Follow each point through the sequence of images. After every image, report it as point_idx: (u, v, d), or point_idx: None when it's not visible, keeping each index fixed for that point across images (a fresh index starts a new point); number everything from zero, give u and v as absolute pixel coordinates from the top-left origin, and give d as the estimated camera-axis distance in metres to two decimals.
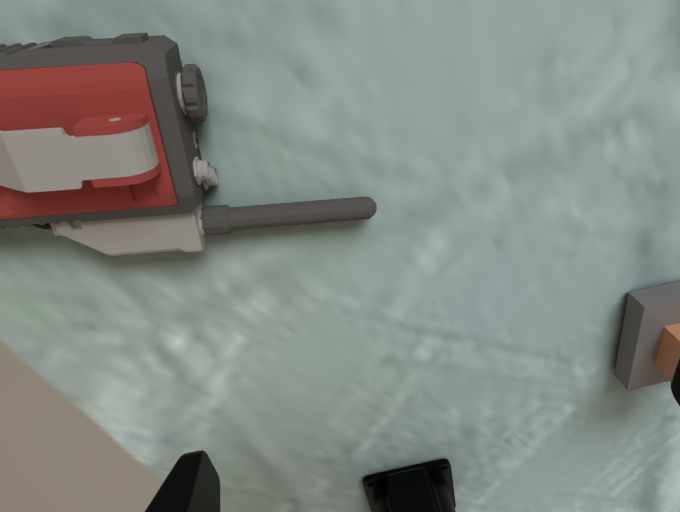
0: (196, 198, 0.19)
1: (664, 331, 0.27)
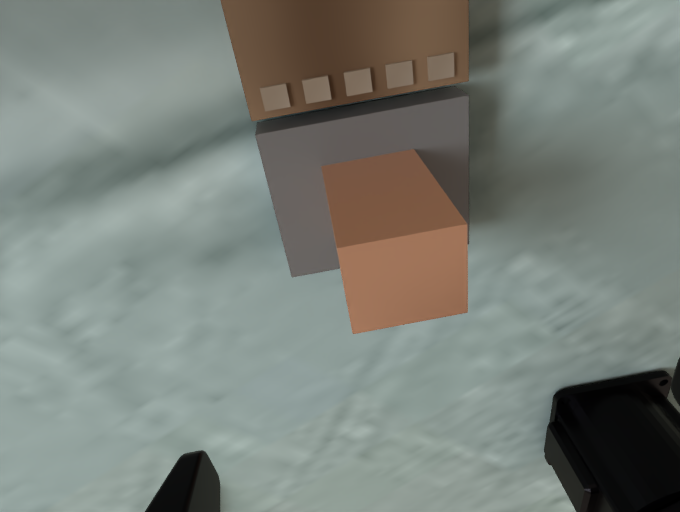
0: None
1: None
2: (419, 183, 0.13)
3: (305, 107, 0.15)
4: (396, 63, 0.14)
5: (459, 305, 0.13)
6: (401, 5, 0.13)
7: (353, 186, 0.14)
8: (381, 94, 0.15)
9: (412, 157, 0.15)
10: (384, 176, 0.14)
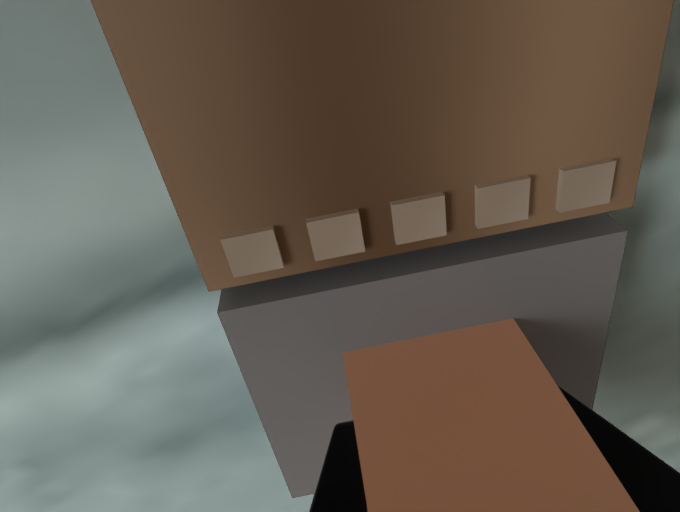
0: None
1: None
2: (562, 454, 0.06)
3: (313, 265, 0.07)
4: (496, 181, 0.07)
5: None
6: (519, 72, 0.06)
7: (415, 440, 0.07)
8: (462, 236, 0.07)
9: (517, 346, 0.08)
10: (476, 411, 0.07)
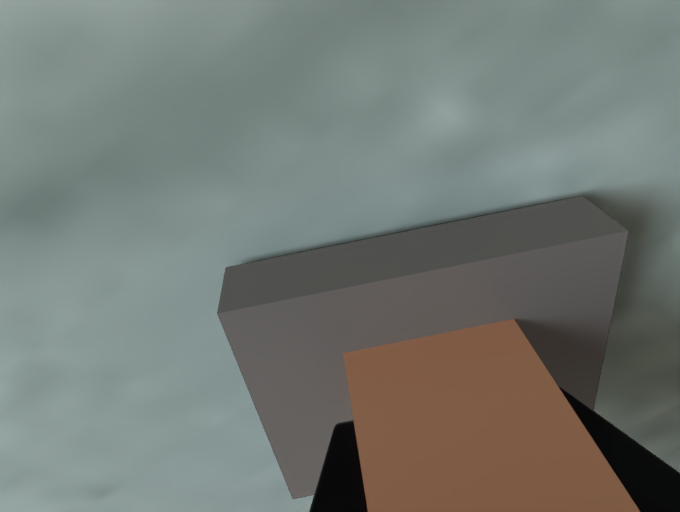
0: None
1: None
2: (563, 455, 0.06)
3: None
4: None
5: None
6: None
7: (416, 441, 0.07)
8: None
9: (517, 347, 0.08)
10: (476, 412, 0.07)
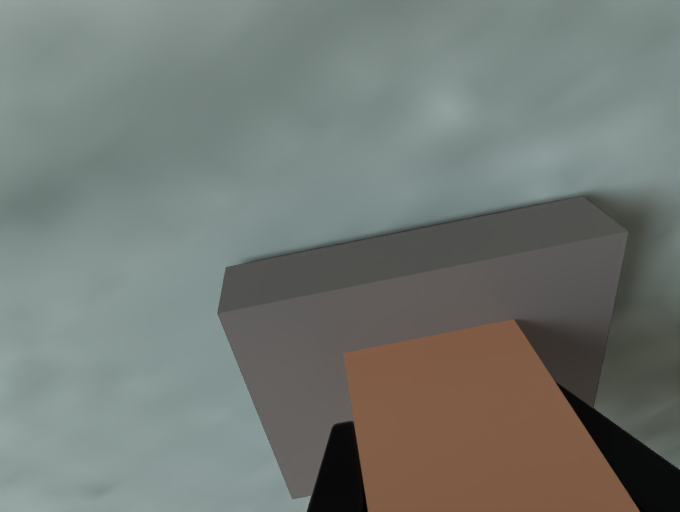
0: None
1: None
2: (564, 456, 0.06)
3: None
4: None
5: None
6: None
7: (416, 441, 0.07)
8: None
9: (518, 348, 0.08)
10: (477, 411, 0.07)
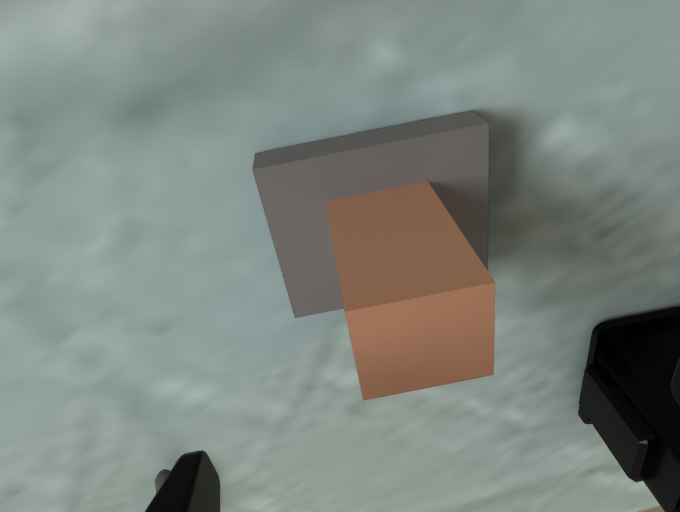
0: None
1: None
2: (436, 226, 0.12)
3: None
4: None
5: (485, 368, 0.11)
6: None
7: (362, 228, 0.12)
8: None
9: (426, 192, 0.14)
10: (397, 215, 0.13)
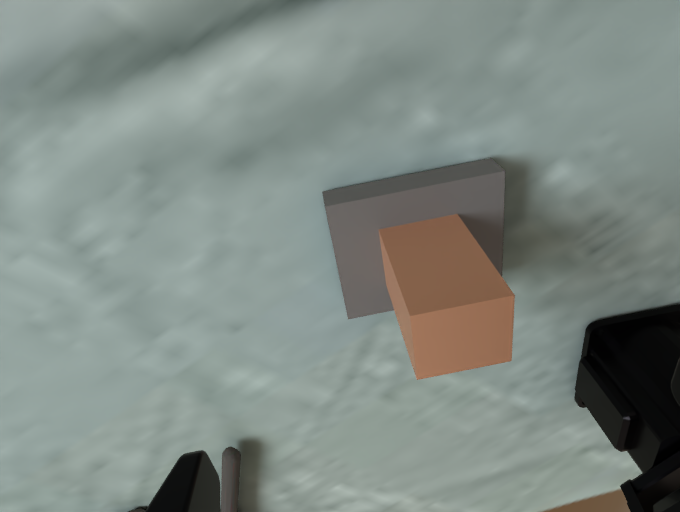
0: None
1: None
2: (468, 251, 0.16)
3: None
4: None
5: (505, 356, 0.15)
6: None
7: (411, 252, 0.17)
8: None
9: (457, 223, 0.18)
10: (437, 242, 0.17)
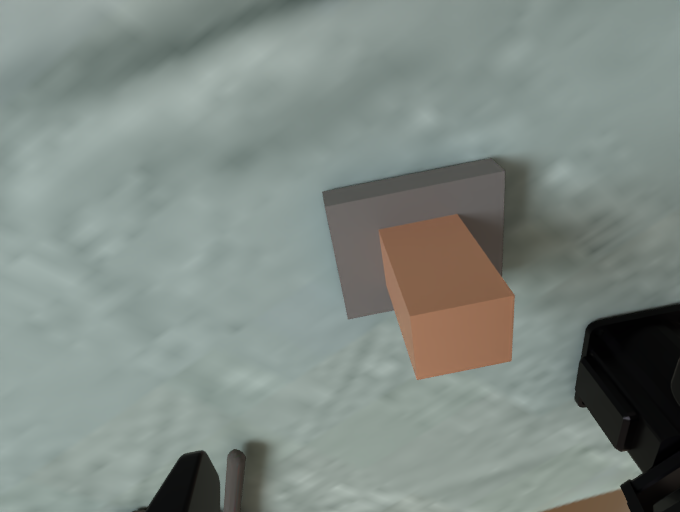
0: None
1: None
2: (468, 251, 0.16)
3: None
4: None
5: (505, 356, 0.15)
6: None
7: (411, 252, 0.17)
8: None
9: (457, 223, 0.18)
10: (437, 243, 0.17)
